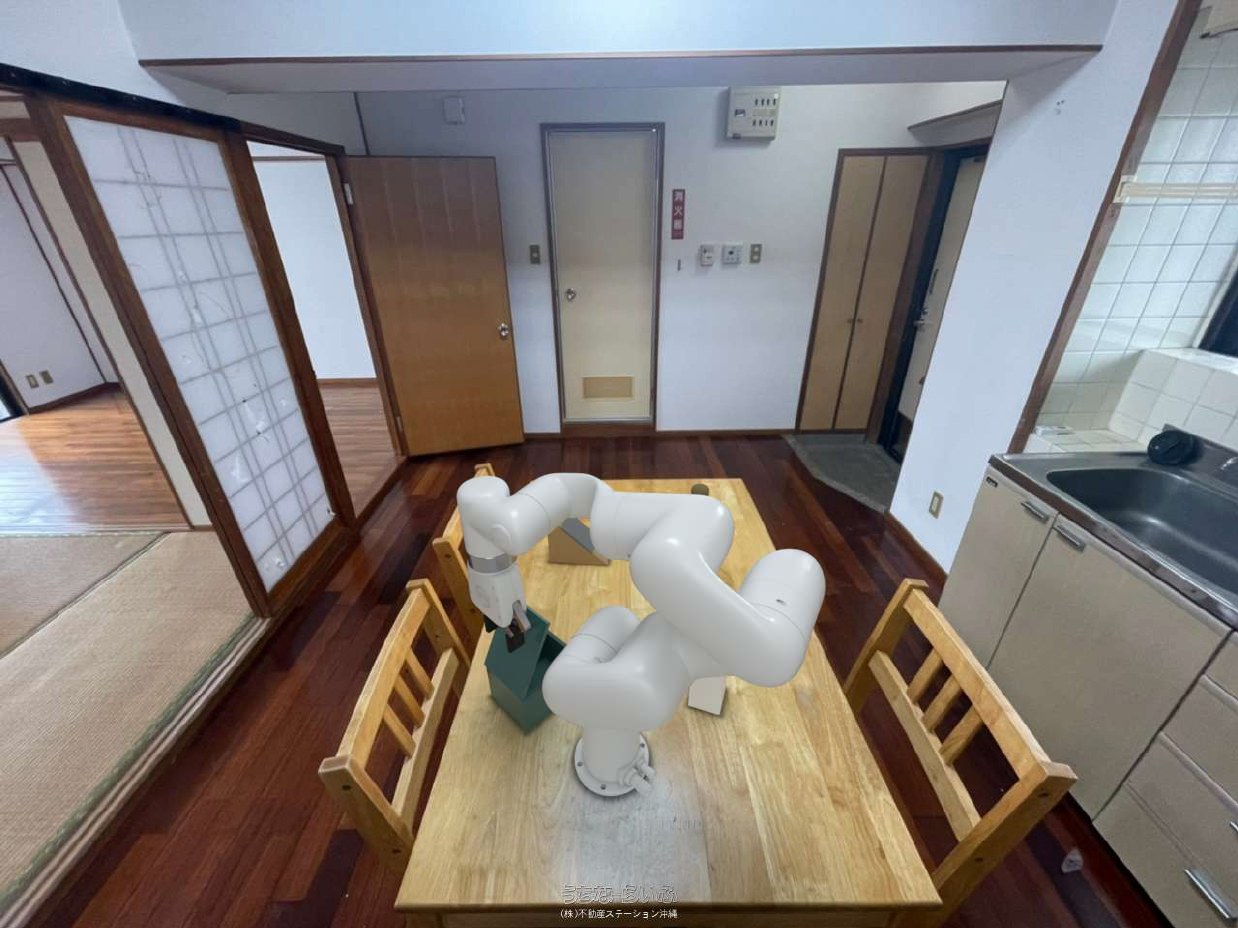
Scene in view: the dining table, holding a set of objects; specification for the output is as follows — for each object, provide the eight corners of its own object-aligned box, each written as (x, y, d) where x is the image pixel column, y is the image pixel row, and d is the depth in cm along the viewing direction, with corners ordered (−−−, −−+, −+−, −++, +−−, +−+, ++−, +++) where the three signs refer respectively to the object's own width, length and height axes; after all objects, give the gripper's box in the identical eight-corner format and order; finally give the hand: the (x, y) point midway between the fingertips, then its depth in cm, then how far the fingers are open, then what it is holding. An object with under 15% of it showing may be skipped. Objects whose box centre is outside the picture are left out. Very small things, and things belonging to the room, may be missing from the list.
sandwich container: (608, 565, 133) (606, 517, 126) (549, 562, 135) (545, 514, 128) (611, 545, 141) (610, 498, 134) (556, 543, 142) (552, 496, 135)
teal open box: (546, 654, 108) (543, 625, 104) (582, 685, 101) (581, 655, 97) (491, 695, 99) (485, 665, 95) (527, 732, 92) (523, 701, 88)
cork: (684, 514, 154) (686, 482, 149) (702, 511, 156) (705, 479, 151) (693, 525, 149) (695, 493, 144) (711, 521, 151) (714, 489, 145)
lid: (510, 592, 94) (486, 594, 90) (550, 623, 87) (526, 626, 83) (487, 663, 95) (462, 669, 91) (524, 699, 89) (499, 707, 84)
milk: (695, 681, 102) (702, 595, 92) (726, 690, 100) (736, 603, 90) (687, 706, 97) (694, 618, 87) (719, 716, 95) (730, 627, 85)
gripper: (442, 540, 83) (459, 623, 91) (504, 591, 72) (517, 679, 81) (482, 521, 88) (495, 602, 96) (546, 566, 77) (554, 652, 85)
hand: (505, 636), depth 88 cm, fingers closed on lid, 5 cm apart
